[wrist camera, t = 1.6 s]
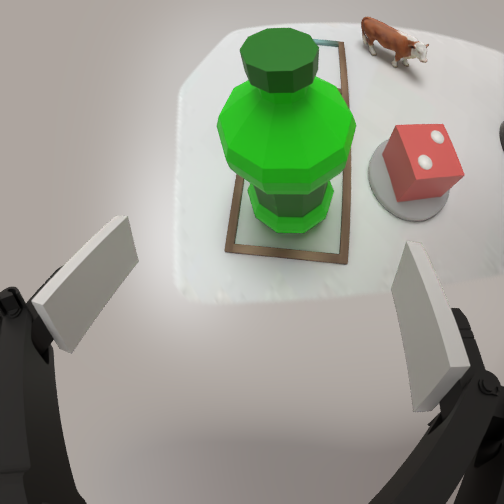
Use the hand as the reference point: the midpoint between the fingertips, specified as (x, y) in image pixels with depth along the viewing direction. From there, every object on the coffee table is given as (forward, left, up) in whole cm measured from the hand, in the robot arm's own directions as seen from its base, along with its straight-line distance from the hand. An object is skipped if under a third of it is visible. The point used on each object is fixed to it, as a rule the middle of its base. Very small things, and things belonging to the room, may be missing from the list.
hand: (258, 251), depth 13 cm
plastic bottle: (0, -11, -23) cm, 25 cm away
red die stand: (-16, -16, -23) cm, 32 cm away
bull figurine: (-16, -41, -23) cm, 50 cm away
